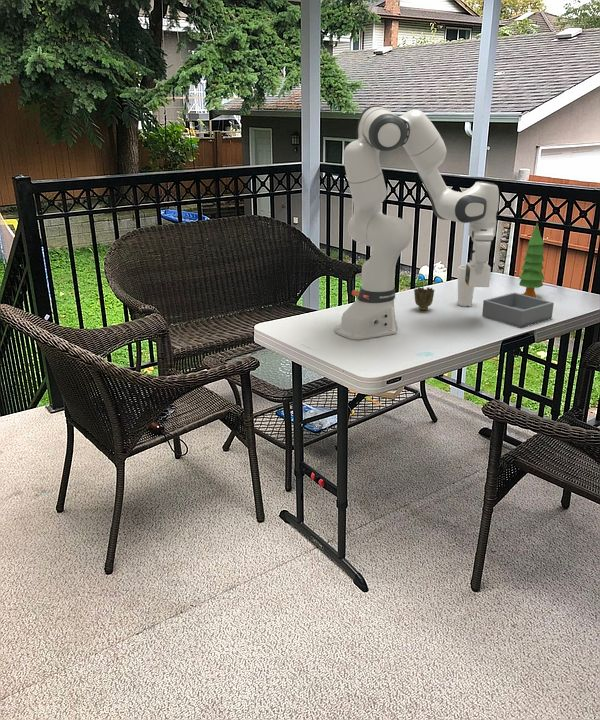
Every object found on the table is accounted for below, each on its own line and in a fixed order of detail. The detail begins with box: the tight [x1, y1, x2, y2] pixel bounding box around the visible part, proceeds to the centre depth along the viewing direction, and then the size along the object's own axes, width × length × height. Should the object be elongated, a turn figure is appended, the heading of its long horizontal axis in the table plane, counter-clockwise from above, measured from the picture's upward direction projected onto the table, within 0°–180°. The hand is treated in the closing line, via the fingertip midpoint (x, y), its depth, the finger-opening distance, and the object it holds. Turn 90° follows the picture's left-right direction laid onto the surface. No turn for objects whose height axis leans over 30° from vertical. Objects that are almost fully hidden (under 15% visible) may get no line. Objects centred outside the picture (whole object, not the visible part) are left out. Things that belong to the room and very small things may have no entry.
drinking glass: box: [457, 264, 475, 307], centre depth 242 cm, size 7×7×15 cm
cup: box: [413, 286, 435, 312], centre depth 238 cm, size 8×7×8 cm
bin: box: [481, 291, 555, 329], centre depth 228 cm, size 17×17×6 cm
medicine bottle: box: [465, 249, 492, 288], centre depth 220 cm, size 7×7×12 cm
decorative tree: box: [518, 222, 546, 298], centre depth 247 cm, size 10×9×30 cm
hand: (478, 270), depth 220 cm, fingers closed on medicine bottle, 7 cm apart
